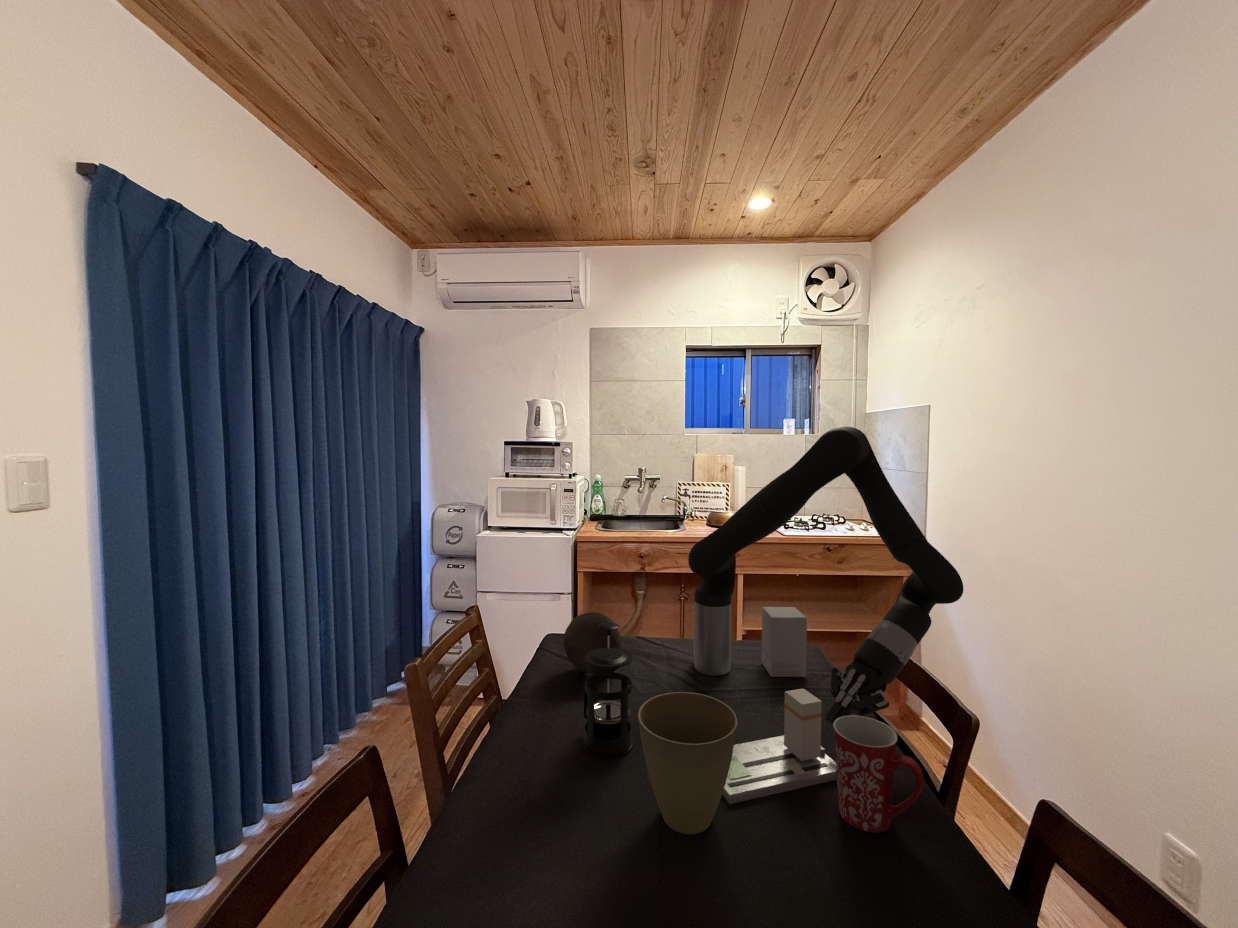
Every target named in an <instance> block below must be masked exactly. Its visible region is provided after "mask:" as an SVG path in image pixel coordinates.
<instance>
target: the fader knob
mask: <svg viewBox="0 0 1238 928" xmlns="http://www.w3.org/2000/svg"><path fill="white" fill-rule="evenodd" d="M822 703H823V702H822V700H820V699H819V698H818V697H816V696H815V695H814V694H812V693H811V692H809V690H806V689H805V688H798V689H791V690H786V691H784V703H783V708H784V714H783V715H784V717H783V718H784V719H783V720H784V722H783V724H784V725H783V727H784V728H783V730H784V731H783V735H784V746H786V747H787V748H788V749H789V750H790V751H791V752H792V753H793V754H794V755H795V756H796V757H798V758H799V759H800V760H801V761H804V760H808V759H813V758H818V757H821V746H822V744H821V743H822V715H823V713H822Z"/></svg>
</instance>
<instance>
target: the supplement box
mask: <svg viewBox="0 0 1238 928" xmlns="http://www.w3.org/2000/svg"><path fill="white" fill-rule="evenodd" d="M761 610H762V613H761V614H762V615H761V616H762V617H761V664H762V665H763V666H764V668H765V670H766V671H767V672H768V674H769V676H770V677H771V678H773V677H775V678H776V677H777V678H779V677H780V678H781V677H782V678H783V677H784V678H785V677H786V678H806V677H807V635H808V632H807V630H808V629H807V628H808V617H806V616H805V614H803V613H802V612H801V611H800V610H798V609H797V607H796V606H763V607H762V609H761Z"/></svg>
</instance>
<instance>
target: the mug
mask: <svg viewBox="0 0 1238 928" xmlns="http://www.w3.org/2000/svg"><path fill="white" fill-rule="evenodd" d="M832 728H833V731H834V746H835V747H834V749H835V750H834V751H835V762H836V773H837V780H836V784H837V785H836V786H837V806H838V807H837V808H838V812H839V815H840V816H841V818H842V820H844V821H845V823H847V824H849V825H850V826H852V827H854V828H855V829H858V830H860V831H863V832H867V833H873V834H874V833H876V834H877V833H883V832H885V831H887V830H888V829H889V828H890V827H891V824H892V818H894V817H896V816H897V815H899V814H901V813H902V812H904V811H907V809H908V808H910V807H911V806H912V805H913V804H914V803H915V802H916V801H917V800H918V798H919V796H920V795H921V793H922V790H923V788H924V782H925V781H924V780H925V779H924V773H923V770H922V768H921V766H920V764H919V763H918V762H917V761H916V760H914V759H913V758H912V757H909V756H907V755H903V754H897V753H896V750H897V749H896V747H897V743H898V734H897V732H896V731H895V730H894V729H893V728H892V727H891V726H889V725H888V724H886V723H884V722H882V721H880V720H877V719H875V718H872V717H868V716H865V715H864V716H859V715H856V714H850V715H849V716H842V717H839V718H837V719H836V720H835V721H834V722H833V726H832ZM900 765H904V766H907V767H908V768H909V769H910V770H911V771H912V773H913V774H914V776H915V782H916V783H915V788H914V791H913V792H912V794H911V795H910V796H908V797H907V798H906V799H905V800H903V801H902V802H900V803H899V804H896V805H895V804H893V794H894V779H895V772H896V770H897V768H898V767H899V766H900Z"/></svg>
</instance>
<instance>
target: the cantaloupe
mask: <svg viewBox="0 0 1238 928" xmlns="http://www.w3.org/2000/svg"><path fill="white" fill-rule="evenodd" d="M607 622H611V623H615V622H614V620H613V619H611V618H610V617H608V616H607V615H605V614H604V613H601V612H596V611H594V612H593V611H591V612H590V611H589V612H585V613H581V614H579V615H577V616H576V617H574V618H573V619H572V620H571V621H570V622H569V624H568V626H567V627H566V629H565V631H564V635H563V647H564V648H563V649H564V651H565V654H566V657H567V659H568V661H569V662H570V663H571V664H572V665H573V667H575V668H576V669H577V670H578V671H580V672H582V673H584V674H586V673H589V671H588V670H587V662H586V661H585V655H586V654H587V653H588V652H590V651H592V650H595V649H599V648H608V636H607V635H606V631H603V630H600V629H598V625H599V624H601V623H607ZM621 637H622V636H621V634H620V631H619V629H617V630H614V631H611V635H610V648H619V649H622V639H621Z"/></svg>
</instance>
